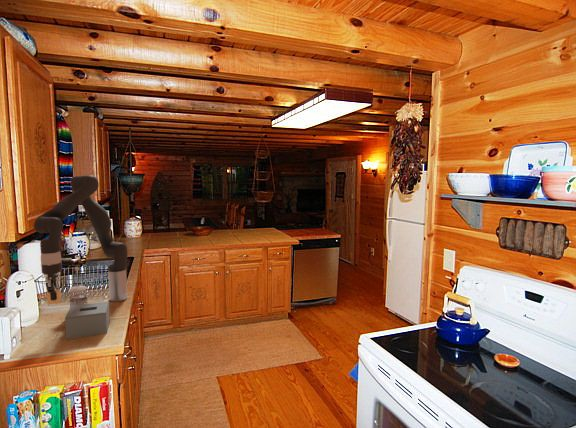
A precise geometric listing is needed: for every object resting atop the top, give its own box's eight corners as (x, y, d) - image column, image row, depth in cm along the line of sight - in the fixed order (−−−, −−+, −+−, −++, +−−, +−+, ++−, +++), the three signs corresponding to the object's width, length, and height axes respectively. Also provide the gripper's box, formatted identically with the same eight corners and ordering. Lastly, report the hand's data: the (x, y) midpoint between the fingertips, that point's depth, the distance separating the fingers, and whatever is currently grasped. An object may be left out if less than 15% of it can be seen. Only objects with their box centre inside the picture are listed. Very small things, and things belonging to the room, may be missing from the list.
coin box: (72, 325, 166) (71, 305, 165) (109, 320, 172) (108, 301, 171) (66, 338, 153) (65, 317, 152) (107, 333, 159) (105, 312, 158)
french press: (91, 309, 184) (89, 264, 181) (88, 318, 174) (85, 270, 171) (70, 312, 181) (67, 265, 177) (65, 321, 170) (62, 272, 167)
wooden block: (48, 302, 155) (47, 289, 154) (61, 301, 157) (60, 288, 156) (47, 304, 153) (46, 291, 153) (60, 303, 155) (59, 290, 154)
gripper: (45, 258, 158) (48, 294, 160) (36, 266, 145) (40, 306, 147) (64, 257, 160) (67, 292, 163) (57, 265, 148) (60, 303, 150)
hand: (54, 299), depth 155 cm, fingers closed on wooden block, 1 cm apart
